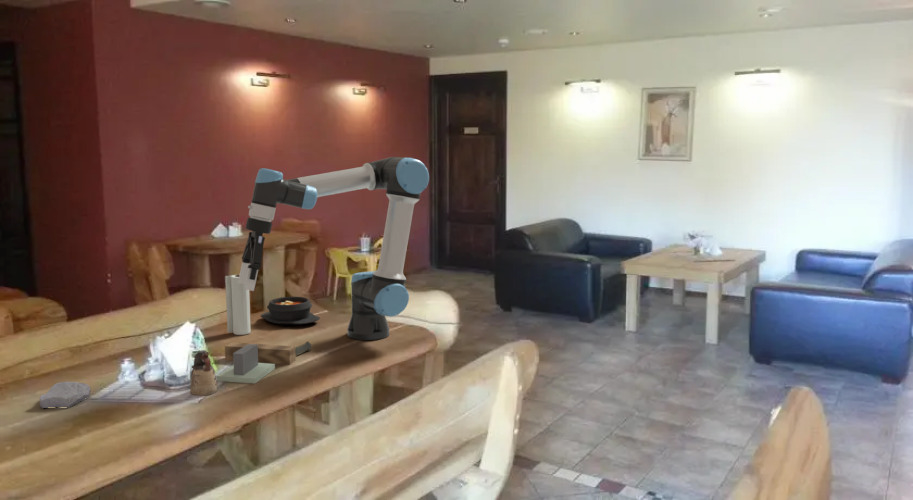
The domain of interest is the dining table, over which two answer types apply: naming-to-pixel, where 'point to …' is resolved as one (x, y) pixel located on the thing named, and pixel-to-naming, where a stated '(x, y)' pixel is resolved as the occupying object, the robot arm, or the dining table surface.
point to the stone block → (65, 394)
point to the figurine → (203, 375)
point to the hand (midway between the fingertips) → (245, 286)
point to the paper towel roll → (237, 306)
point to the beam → (265, 353)
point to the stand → (246, 366)
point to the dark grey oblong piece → (302, 348)
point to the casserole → (290, 311)
